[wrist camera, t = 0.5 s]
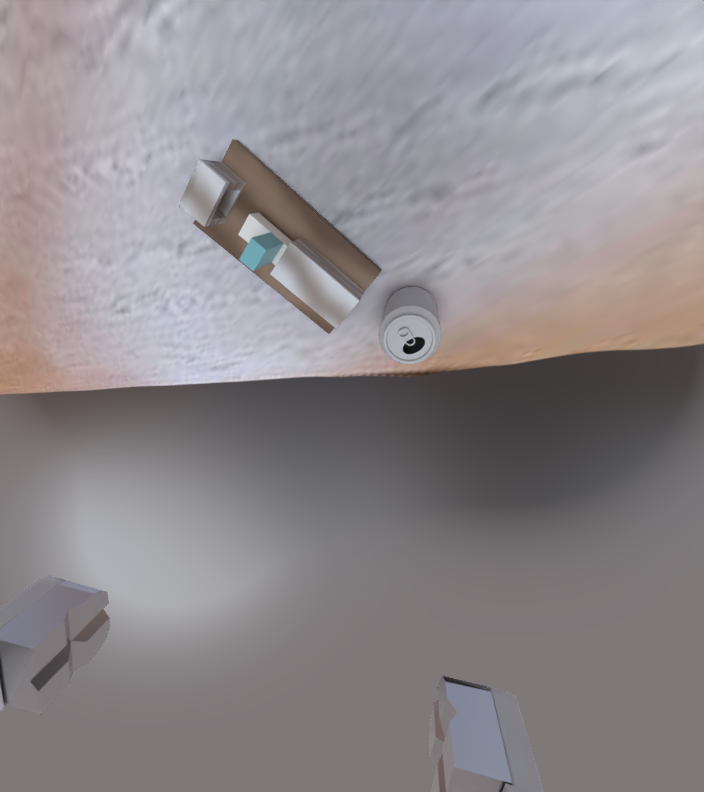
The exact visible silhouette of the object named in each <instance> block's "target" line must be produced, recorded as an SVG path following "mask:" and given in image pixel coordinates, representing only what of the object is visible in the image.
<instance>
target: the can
mask: <svg viewBox="0 0 704 792" xmlns="http://www.w3.org/2000/svg"><path fill="white" fill-rule="evenodd" d="M440 339H441V330H440V323H439V317H438V311H437V305H436V303H435V300H434V298H433V297H432V296H431V295H430V294H429V293H428V292H427V291H425V290H423V289H422V288H418V287H406V288H402V289H400V290H398V291H396V292H395V293H394V294H393V295H392V296H391V297H390V299H389V300H388V302H387V304H386V307H385V311H384V315H383V318H382V322H381V326H380V331H379V340H380V345H381V347H382V349H383V351H384V352H385V353H386V354H387V355H388V356H389V357H390V358H391V359H393V360H395V361H397V362H399V363H403V364H416V363H419V362H421V361H424V360H426V359H427V358H428V357H430V356H431V355H432V354H433V353H434V352H435V350H436V349H437V347H438V346H439V342H440Z"/></svg>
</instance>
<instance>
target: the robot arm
mask: <svg viewBox="0 0 704 792" xmlns="http://www.w3.org/2000/svg"><path fill="white" fill-rule="evenodd" d="M108 603H109V602H108V594H107V592H105V591H101V590H98V589H95V588H91V587H88V586H84V585H81V584H77V583H74V582H70V581H67V580H63V579H60V578H56V577H52V576H47V577H44V578H41V579H39V580H38V581H36V582H35V583H33V584H32V585H31V586H29V587H28V588H27V589H25V590H24V591H22V592H21V593H20V594H18V595H17V596H16V597H14V598H13V599H12V600H10V601H9V602H7V603H6V604H5V605H4V606H2V607H0V711H1V710H3V709H4V708H5V707H4V705H5V706H9V707H12V708H17V709H21V710H24V711H28V712H32V713H36V714H40V715H42V714H43V712H44V711H45V710H46V709H47V708H48V707H49V706H50V705H51V704H52V703H53V701H54V700H55V699H56V698H57V697H58V696H59V695H60V694H61V693H62V691H63V690H64V689H65V688H66V687H67V686H68V685H69V684H70V682H71V678H72V674H73V671H74V670H76V669H78V668H80V667H82V666H83V665H85V664H87V663H88V662H89V661H90V660H91V659H92V658H93V657H94V656H95V655H96V653H97V652H98V651H99V650H100V648H101V646H102V644H103V643H104V641H105V639H106V637H107V634H108V631H109V627H110V622H109V617H108V615H107V614H106V612H105V611H104V608H105V606H106V605H107V604H108ZM437 688H438V700H437V701H436V702H434V703H433V707H432V711H431V717H430V727H429V752H430V760H431V762H432V764H433V766H434V768H435V769H436V772H435V775H434V779H433V782H432V786H431V790H432V792H544V791H543V787H542V784H541V780H540V777H539V773H538V770H537V767H536V763H535V760H534V756H533V753H532V750H531V746H530V742H529V739H528V736H527V732H526V729H525V725H524V722H523V719H522V715H521V711H520V708H519V705H518V701H517V699H516V697H515V696H514V694H513V693H510V692H506V691H502V690H498V689H494V688H489V687H487V686H484V685H480V684H476V683H472V682H467V681H463V680H459V679H454V678H450V677H446V676H442V677H441V678H440V680H439V684H438V687H437Z"/></svg>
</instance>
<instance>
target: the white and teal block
mask: <svg viewBox="0 0 704 792" xmlns="http://www.w3.org/2000/svg"><path fill="white" fill-rule="evenodd" d="M238 235H239V236H241V237H242V238H243V239H244V240H245V241H247V242H248V245H247V246H246V248H245V250H244V252H243V253H242V255H241V257H240V259H239V260H240V261H241V262H242V263H243V264H245V265H246V266H247V267H248V268H250V269H251V270H252V271H255V270H257V269H259V268H261V267H263V266H265V265H267V264H269V263H271V262H272V263H273V264H274V265H275V266H276V264H277V263H278V261H279V259H280V258H281V256H282V255H283V253H284V252H285V250H286V248H287V247H288V245H289V244H290V242H292V241H291V240H290V239H289V238H288V237H287V236H285V235H284V234H283V233H282V232H281V231H280V230H278V229H277V228H276V227H275V226H274V225H273V224H271V223H270V222H269V221H268V220H267V219H266V218H264V217H263V216H262V215H261V214H260V213H252V214H249V216H248V217H247V219H246V221H245V223H244V225H243V227H242V228H241V230H240V232H239V234H238Z"/></svg>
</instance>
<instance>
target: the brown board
mask: <svg viewBox="0 0 704 792" xmlns="http://www.w3.org/2000/svg"><path fill="white" fill-rule="evenodd" d="M179 207H181V208H182V209H183V210H184V211H185V212H187V213H188V214H189V215H190V216H192V217H193V218H194V219H195V221H194V223H193V224H195V225H196V226H197V227H198V228H199V229H201V230H202V231H203V232H204V233H206V234H207V235H208V236H209V237H211V238H212V239H213V240H214V241H215V242H217V243H218V244H219V245H220V246H222V247H223V248H224V249H225V250H226V251H228V252H229V253H230V254H231V255H233V256H234V257H235V258H236V259H238V260H239V259H240V257H241V255H242V253H243V252H244V250H245V248H246V246H247V245H248V242H247V241H245V240H244V239H243V238H242V237H241V236H239V235H238V234H239V232H240V230H241V228H242V227H243V225H244V223H245V221H246V219H247V217H248V216H249V214H252V213H260V214H261V215H262V216H263V217H264V218H266V219H267V220H268V221H269V222H270V223H271V224H273V225H274V226H275V227H276V228H277V229H278V230H280V231H281V232H282V233H283V234H284V235H285V236H287V237H288V238H289V239H290V240H291V241H292V242H290V244H289V245H288V247H287V248H286V250H285V252H284V253H283V255H282V256H281V258H280V259H279V261H278V263H277V264H276V266H275V265H274V264H273V263H272V262H271V263H269V264H267V265H265V266H263V267H261V268H259V269H257V270H255V271H252V270H251V269H250V268H249V269H250V270H251V271H252V272H253V273H255V274H256V275H257V276H258V277H260V278H261V279H262V280H263V281H265V282H266V283H267V284H268V285H269V286H271V287H272V288H273V289H274V290H276V291H277V292H278V293H279V294H280V295H282V296H283V297H284V298H285V299H287V300H288V301H289V302H290V303H292V304H293V305H294V306H295V307H296V308H298V309H299V310H300V311H301V312H303V313H304V314H305V315H306V316H307V317H309V318H310V319H311V320H312V321H314V322H315V323H316V324H317V325H319V326H320V327H321V328H322V329H323V330H325V331H326V332H327V333H328V334H329V333H330V332H331V331H332V330H333V329H334V327H335V328H337V327H338V326H339V325H340V324H341V322H342V321H343V320H344V319H345V318H346V316H347V315H348V314H349V313H350V312H351V310H352V309H353V308H354V307H355V306H356V304H357V303H358V302H359V301H360V299H361V297H362V295H363V293H364V291H365V290H366V289H367V288H368V286H369V285H370V284H371V283H372V282H373V280H374V279H375V278H376V277H377V276H378V274H379V273H380V272H381V269H380V268H379V267H378V266H377V265H376V264H374V263H373V262H372V261H371V260H370V259H369V258H368V257H367V256H366V255H364V254H363V253H362V252H361V251H360V250H359V249H358V248H357V247H356V246H354V245H353V244H352V243H351V242H350V241H349V240H348V239H347V238H346V237H344V236H343V235H342V234H341V233H340V232H339V231H338V230H337V229H336V228H334V227H333V226H332V225H331V224H330V223H329V222H328V221H327V220H326V219H324V218H323V217H322V216H321V215H320V214H319V213H318V212H317V211H316V210H314V209H313V208H312V207H311V206H310V205H309V204H308V203H307V202H306V201H304V200H303V199H302V198H301V197H300V196H299V195H298V194H297V193H296V192H294V191H293V190H292V189H291V188H290V187H289V186H288V185H287V184H286V183H284V182H283V181H282V180H281V179H280V178H279V177H278V176H277V175H275V174H274V173H273V172H272V171H271V170H270V169H269V168H268V167H267V166H265V165H264V164H263V163H262V162H261V161H260V160H259V159H258V158H257V157H255V156H254V155H253V154H252V153H251V152H250V151H249V150H248V149H247V148H245V147H244V146H243V145H242V144H241V143H240V142H239V141H237V140H232V142H231V144H230V146H229V148H228V150H227V153H226V155H225V157H224V159H223V161H222V162H215V161H208V160H201V159H199V160H198V162H197V165H196V167H195V169H194V172H193V174H192V176H191V179H190V181H189V183H188V185H187V188H186V190H185V192H184V195H183V197H182V199H181V202H180V204H179ZM239 261H240V260H239ZM240 262H241V261H240ZM241 263H242V262H241ZM242 264H243V263H242ZM244 265H245V264H244ZM245 266H246V265H245ZM246 267H247V266H246ZM247 268H248V267H247Z"/></svg>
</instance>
